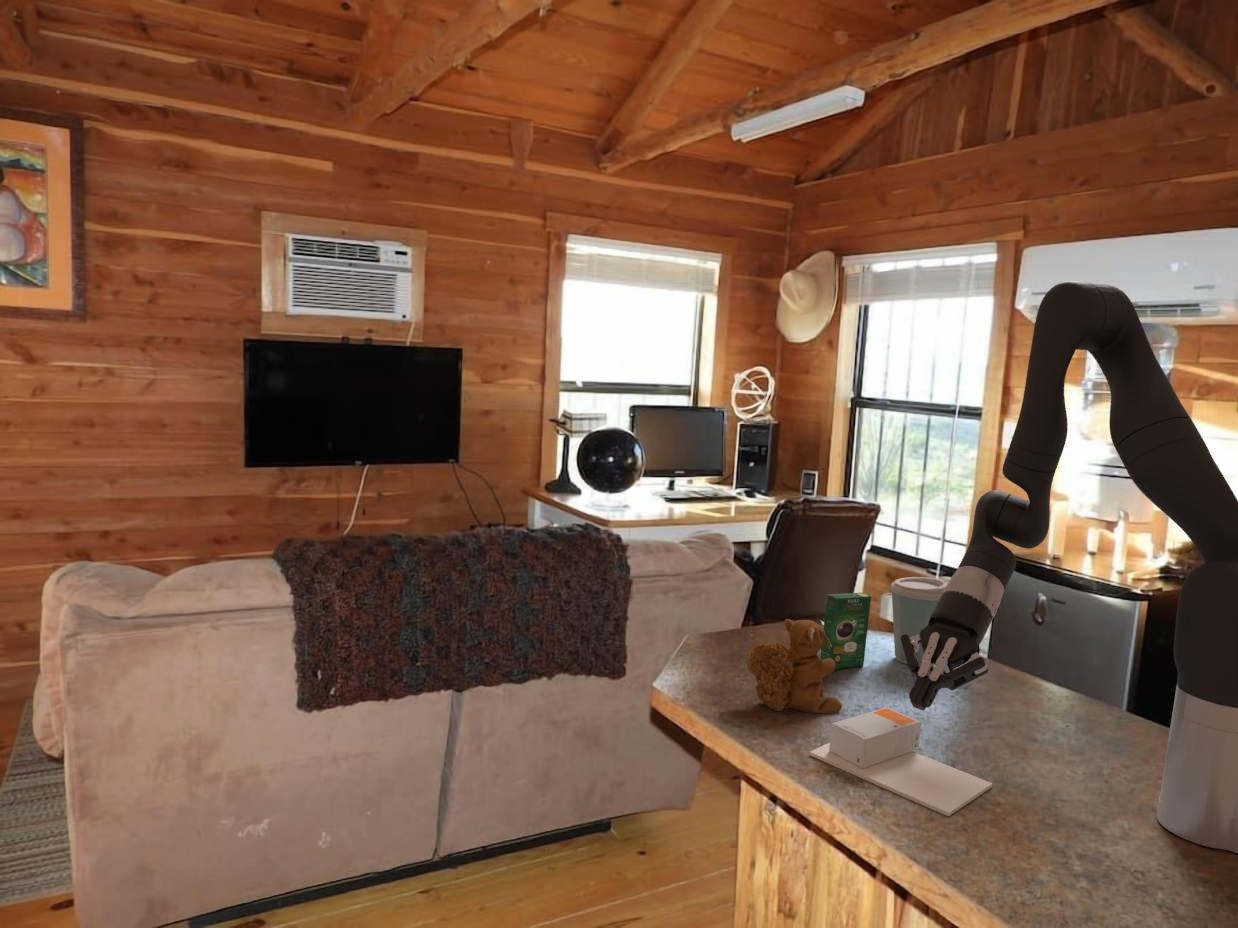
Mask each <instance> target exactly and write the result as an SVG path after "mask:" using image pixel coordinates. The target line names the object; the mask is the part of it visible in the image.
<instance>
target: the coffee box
mask: <svg viewBox="0 0 1238 928" xmlns="http://www.w3.org/2000/svg"><path fill="white" fill-rule="evenodd" d="M826 595H827V596H826V602H825V603H826V604H825V614H824V622H823V629H824V631H825V635H826V636H827V638H828V639H829V641H830V643H831V645H832V647H831V646H830V643H829V641H828V643H829V646H830V649H829V647H828V644H827V642H826V639H825V645H824V646H823V647H822V648H821V649H820V657H819V658H820V659H821V660H824V659H828V658H831V659H832V660H833V661H834V662H835V669H834V671H835V670H839V669H841V670H842V669H849V668H858V667H864V662H865V656H866V655H865V653H866V644H867V643H866V642H867V635H868V626H869V618H870V611H871V601H872V595H869V594H867V593H864V592H851V593H850V592H849V593H848V592H847V593H831V594H830V593H829V594H826ZM828 639H827V640H828Z"/></svg>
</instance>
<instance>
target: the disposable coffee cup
mask: <svg viewBox="0 0 1238 928" xmlns="http://www.w3.org/2000/svg"><path fill="white" fill-rule="evenodd" d="M947 584H948V581H946V580H942V579H941V578H934V577H923V576H910V577H901V578H900V577H899V578H898V579H894V581H892V582H891V585H890V592H891V600H892V602H891V603H892V621H893V623H892V624H893V641H894V656H895V660H897V661H898V662H900V663H902V664H904V665H908V664H907V660H906V657H905V653H904V649H903V646H902V642H901V636H902V635H905V634H906V635H908V636H909V637H912V636H915V635H919V634H920V631H921V630H922V629H923V628H924V627H926V626H927V625H928V623H929V620H930V617H931V615H932V613H933V611H934V609H935V607H936V605H937V603H938V601H939V599H940V597H941V595H942V593H943V592H944V590H945V588H946V586H947ZM915 653H916V656H917V660H918V663H919V667H921V664H922V658H923V655H924V652H923V648H922V644H920V645H919V650H918V652H915Z"/></svg>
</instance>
